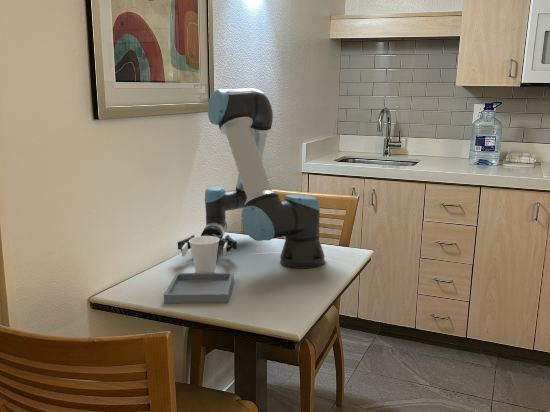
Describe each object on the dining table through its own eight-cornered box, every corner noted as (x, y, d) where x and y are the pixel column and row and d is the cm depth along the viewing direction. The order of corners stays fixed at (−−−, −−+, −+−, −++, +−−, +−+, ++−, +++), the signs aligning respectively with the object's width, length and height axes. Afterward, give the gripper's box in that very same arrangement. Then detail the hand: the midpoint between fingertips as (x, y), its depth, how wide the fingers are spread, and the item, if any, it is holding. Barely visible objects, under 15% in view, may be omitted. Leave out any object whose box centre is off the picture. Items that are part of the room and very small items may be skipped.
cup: (215, 278, 173) (214, 244, 171) (186, 276, 175) (184, 243, 173) (224, 268, 183) (223, 236, 180) (196, 266, 185) (194, 235, 182)
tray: (233, 280, 171) (233, 272, 170) (227, 302, 153) (227, 294, 153) (176, 280, 171) (176, 273, 171) (164, 303, 154) (163, 294, 153)
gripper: (246, 244, 200) (241, 262, 179) (179, 245, 201) (166, 263, 180) (246, 224, 199) (241, 240, 178) (178, 225, 199) (165, 241, 179)
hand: (203, 252), depth 179 cm, fingers open, 13 cm apart
